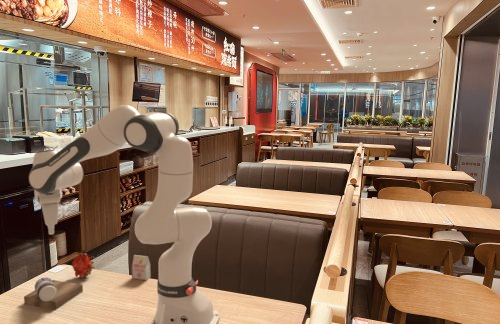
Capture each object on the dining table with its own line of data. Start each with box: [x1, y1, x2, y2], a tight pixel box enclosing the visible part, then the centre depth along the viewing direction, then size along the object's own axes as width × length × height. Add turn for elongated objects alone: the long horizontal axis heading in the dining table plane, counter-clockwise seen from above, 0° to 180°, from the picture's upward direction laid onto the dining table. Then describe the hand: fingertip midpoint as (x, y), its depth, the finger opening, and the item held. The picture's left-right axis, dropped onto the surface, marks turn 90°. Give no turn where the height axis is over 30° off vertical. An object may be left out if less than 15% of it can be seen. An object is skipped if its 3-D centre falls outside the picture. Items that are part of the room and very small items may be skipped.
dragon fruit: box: [71, 249, 95, 279], centre depth 157 cm, size 8×8×12 cm
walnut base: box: [23, 279, 84, 310], centre depth 141 cm, size 14×14×4 cm
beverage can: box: [34, 277, 58, 301], centre depth 135 cm, size 6×7×12 cm
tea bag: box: [131, 254, 152, 282], centre depth 158 cm, size 4×7×10 cm, turn 76°
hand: (50, 230), depth 136 cm, fingers open, 8 cm apart
